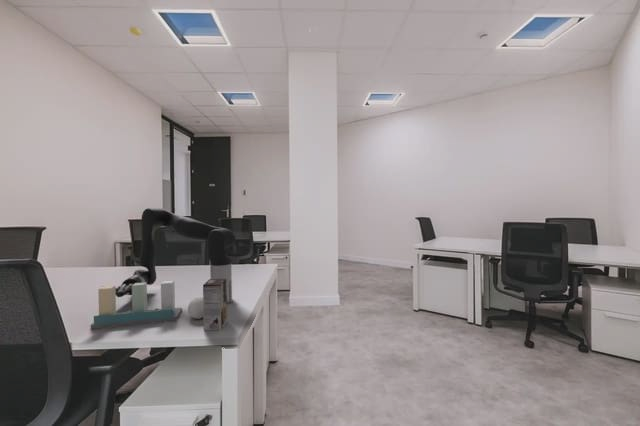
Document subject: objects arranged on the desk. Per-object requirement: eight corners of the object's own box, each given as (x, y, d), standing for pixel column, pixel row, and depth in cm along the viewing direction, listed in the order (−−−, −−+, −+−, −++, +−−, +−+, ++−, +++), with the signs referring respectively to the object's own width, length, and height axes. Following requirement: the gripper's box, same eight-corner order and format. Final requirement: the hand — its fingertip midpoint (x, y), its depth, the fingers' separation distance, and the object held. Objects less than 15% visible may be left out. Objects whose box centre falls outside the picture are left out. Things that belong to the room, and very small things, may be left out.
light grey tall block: (174, 310, 123) (174, 280, 122) (172, 313, 119) (172, 282, 119) (163, 311, 122) (163, 281, 121) (161, 314, 118) (160, 283, 118)
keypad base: (182, 311, 127) (182, 300, 127) (176, 321, 115) (175, 309, 115) (105, 317, 120) (105, 306, 120) (90, 329, 108) (90, 316, 108)
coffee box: (210, 321, 115) (209, 278, 114) (227, 320, 115) (227, 278, 115) (202, 331, 105) (202, 284, 105) (222, 330, 106) (221, 283, 106)
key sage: (147, 312, 120) (146, 282, 120) (144, 316, 116) (143, 284, 116) (135, 313, 119) (135, 283, 119) (132, 317, 115) (131, 285, 115)
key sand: (115, 317, 115) (115, 285, 115) (111, 321, 111) (111, 288, 111) (103, 318, 114) (103, 286, 114) (99, 322, 110) (98, 289, 110)
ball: (184, 322, 114) (184, 301, 114) (191, 315, 122) (191, 295, 122) (206, 321, 115) (206, 300, 114) (212, 314, 123) (212, 294, 122)
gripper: (117, 277, 139) (100, 286, 122) (149, 275, 142) (137, 284, 125) (117, 293, 139) (100, 305, 122) (149, 291, 142) (137, 302, 125)
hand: (119, 294), depth 124 cm, fingers closed
